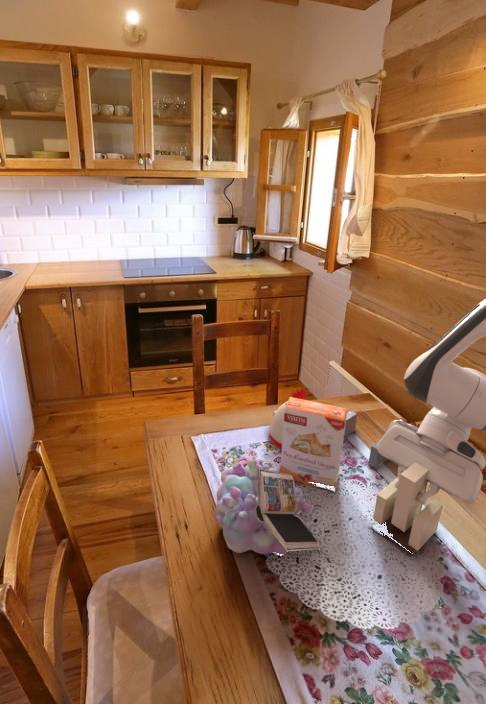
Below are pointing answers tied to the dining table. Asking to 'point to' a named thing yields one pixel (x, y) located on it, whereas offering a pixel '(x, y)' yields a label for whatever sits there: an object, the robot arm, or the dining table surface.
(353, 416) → the grey book
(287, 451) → the cracker box
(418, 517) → the cream book
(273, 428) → the kitchen timer
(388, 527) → the dark flat slab
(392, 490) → the cream book
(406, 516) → the tall beige block
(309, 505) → the pastel bumpy hinged case
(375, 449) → the grey book
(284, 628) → the dining table surface
